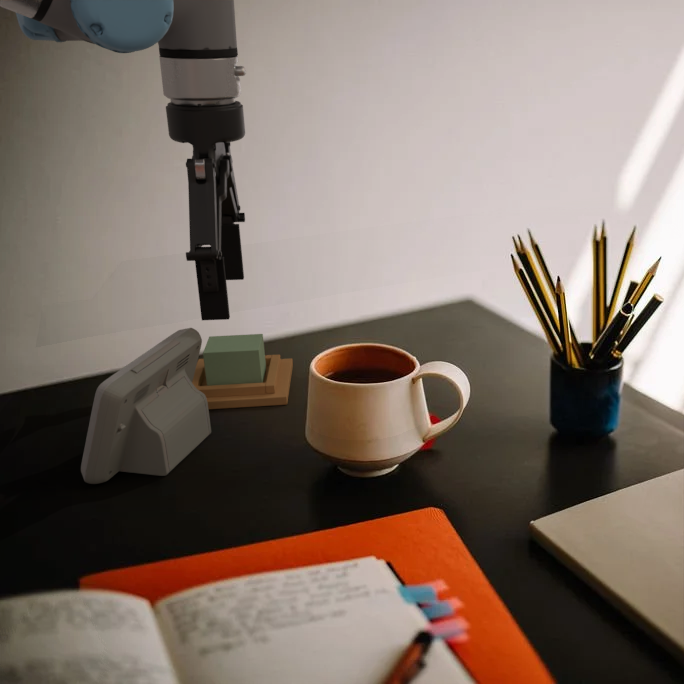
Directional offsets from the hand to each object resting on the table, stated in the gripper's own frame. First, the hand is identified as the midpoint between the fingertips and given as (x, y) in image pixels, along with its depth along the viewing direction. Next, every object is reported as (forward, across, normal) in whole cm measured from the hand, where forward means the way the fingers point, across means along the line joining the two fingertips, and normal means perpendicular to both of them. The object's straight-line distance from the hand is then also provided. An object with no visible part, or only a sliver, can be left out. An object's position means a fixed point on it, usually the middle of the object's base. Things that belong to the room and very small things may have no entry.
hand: (224, 298), depth 100 cm
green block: (+10, 0, 0) cm, 10 cm away
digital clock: (+11, -14, +6) cm, 19 cm away
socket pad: (+11, 0, 0) cm, 11 cm away
